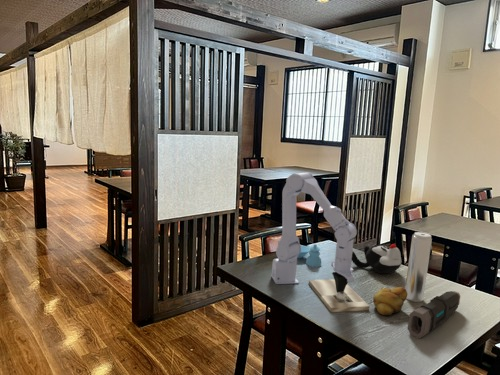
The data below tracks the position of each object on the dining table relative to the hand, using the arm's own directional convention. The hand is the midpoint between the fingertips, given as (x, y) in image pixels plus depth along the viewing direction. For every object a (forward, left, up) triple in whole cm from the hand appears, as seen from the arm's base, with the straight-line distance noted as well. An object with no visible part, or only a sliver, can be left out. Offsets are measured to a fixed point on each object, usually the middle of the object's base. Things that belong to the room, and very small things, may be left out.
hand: (339, 292), depth 131 cm
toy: (+29, +25, -3) cm, 39 cm away
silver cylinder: (+29, -2, -3) cm, 29 cm away
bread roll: (+14, -9, -3) cm, 16 cm away
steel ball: (0, -3, 0) cm, 3 cm away
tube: (+26, -18, -3) cm, 32 cm away
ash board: (0, +2, -2) cm, 3 cm away
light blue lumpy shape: (0, +38, -3) cm, 38 cm away
